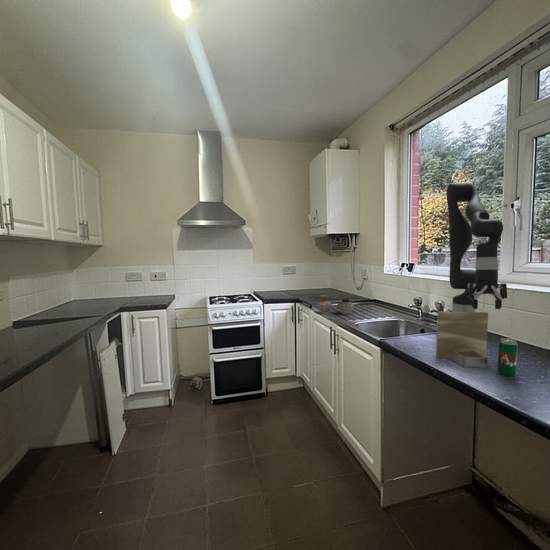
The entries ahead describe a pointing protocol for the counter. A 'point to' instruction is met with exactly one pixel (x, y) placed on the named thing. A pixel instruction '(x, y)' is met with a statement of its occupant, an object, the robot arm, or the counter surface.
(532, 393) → the counter surface
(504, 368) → the soda can
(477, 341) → the wall board
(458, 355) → the can holder
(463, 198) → the robot arm
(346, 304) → the pottery
